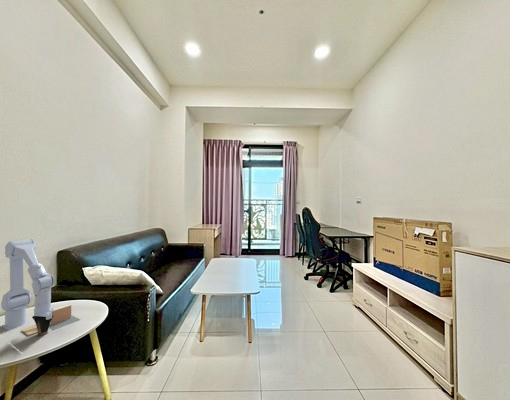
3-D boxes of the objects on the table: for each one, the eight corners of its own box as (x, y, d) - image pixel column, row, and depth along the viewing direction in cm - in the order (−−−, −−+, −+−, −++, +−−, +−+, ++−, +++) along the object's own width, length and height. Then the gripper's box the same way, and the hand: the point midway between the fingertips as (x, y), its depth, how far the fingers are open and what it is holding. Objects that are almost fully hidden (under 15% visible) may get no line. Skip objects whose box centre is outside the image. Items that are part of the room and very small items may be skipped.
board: (21, 331, 116) (21, 329, 116) (39, 325, 122) (39, 323, 122) (28, 337, 111) (28, 334, 111) (47, 330, 117) (47, 328, 117)
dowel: (36, 335, 112) (36, 320, 113) (45, 332, 116) (45, 317, 116) (39, 337, 111) (39, 322, 111) (49, 334, 114) (49, 319, 114)
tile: (49, 324, 122) (49, 310, 123) (69, 316, 130) (69, 304, 130) (50, 325, 121) (51, 311, 121) (71, 317, 129) (71, 304, 129)
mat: (42, 324, 123) (42, 324, 123) (70, 315, 133) (70, 314, 133) (53, 331, 117) (53, 330, 117) (80, 320, 127) (80, 319, 127)
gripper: (60, 302, 113) (59, 331, 113) (47, 296, 120) (46, 323, 120) (41, 307, 107) (40, 338, 107) (28, 301, 114) (28, 329, 114)
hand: (42, 330), depth 113 cm, fingers closed on dowel, 4 cm apart
